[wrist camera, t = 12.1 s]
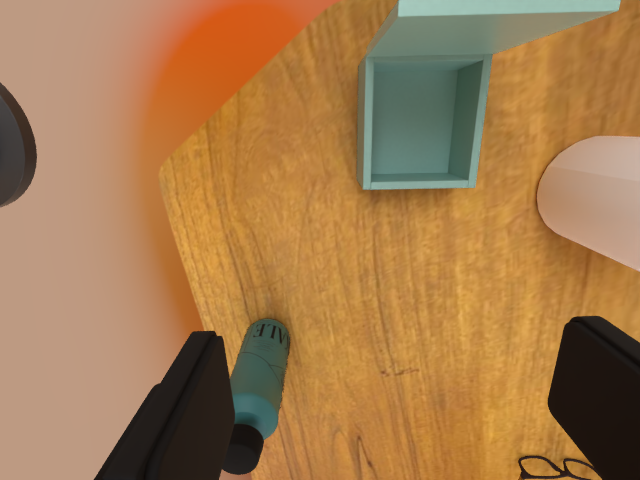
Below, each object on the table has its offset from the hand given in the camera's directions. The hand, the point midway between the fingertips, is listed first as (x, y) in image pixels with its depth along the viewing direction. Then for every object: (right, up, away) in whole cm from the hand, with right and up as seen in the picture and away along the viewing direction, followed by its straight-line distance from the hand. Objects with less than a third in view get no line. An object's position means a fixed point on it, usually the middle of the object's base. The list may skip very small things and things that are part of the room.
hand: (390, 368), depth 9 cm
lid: (+8, +18, +15) cm, 24 cm away
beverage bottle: (-9, -9, +39) cm, 41 cm away
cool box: (+8, +17, +30) cm, 35 cm away
